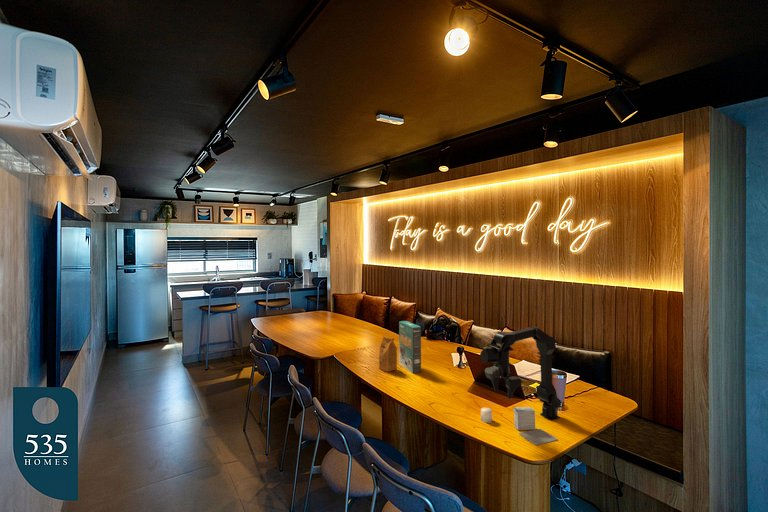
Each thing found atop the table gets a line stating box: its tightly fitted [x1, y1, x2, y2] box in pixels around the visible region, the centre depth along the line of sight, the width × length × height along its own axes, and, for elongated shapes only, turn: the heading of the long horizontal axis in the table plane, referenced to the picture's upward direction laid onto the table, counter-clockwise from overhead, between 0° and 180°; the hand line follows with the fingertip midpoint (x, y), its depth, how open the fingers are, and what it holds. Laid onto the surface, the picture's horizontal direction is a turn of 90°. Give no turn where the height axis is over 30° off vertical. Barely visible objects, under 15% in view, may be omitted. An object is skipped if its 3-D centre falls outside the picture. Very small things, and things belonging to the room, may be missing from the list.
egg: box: [480, 407, 493, 424], centre depth 173 cm, size 5×5×5 cm
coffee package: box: [378, 335, 398, 373], centre depth 247 cm, size 10×12×22 cm
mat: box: [518, 428, 559, 446], centre depth 157 cm, size 12×10×1 cm
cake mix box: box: [398, 320, 422, 374], centre depth 250 cm, size 22×6×30 cm, turn 22°
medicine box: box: [513, 406, 536, 431], centre depth 165 cm, size 8×4×9 cm, turn 92°
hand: (502, 394), depth 166 cm, fingers open, 9 cm apart
